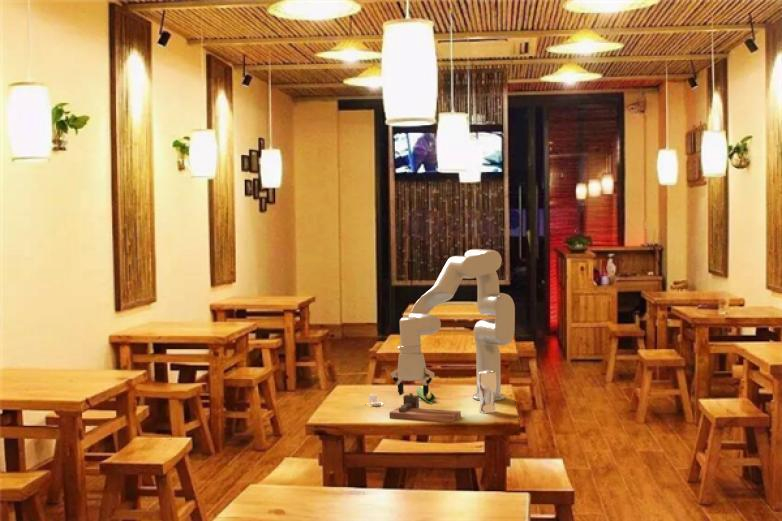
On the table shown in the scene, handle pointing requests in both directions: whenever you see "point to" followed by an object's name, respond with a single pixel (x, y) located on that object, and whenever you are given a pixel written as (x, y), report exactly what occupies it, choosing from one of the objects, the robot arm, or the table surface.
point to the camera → (409, 402)
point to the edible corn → (429, 397)
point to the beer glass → (487, 390)
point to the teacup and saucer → (374, 400)
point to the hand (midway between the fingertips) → (413, 394)
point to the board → (426, 414)
